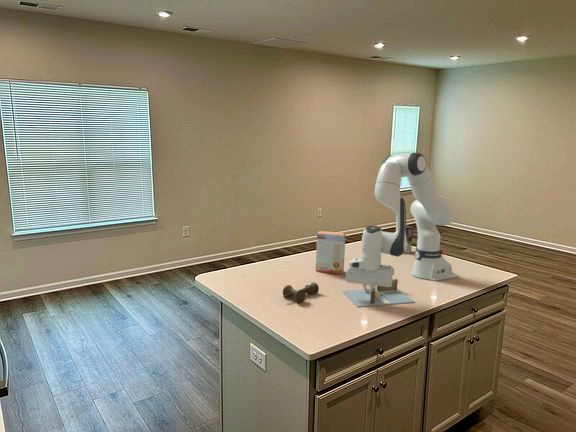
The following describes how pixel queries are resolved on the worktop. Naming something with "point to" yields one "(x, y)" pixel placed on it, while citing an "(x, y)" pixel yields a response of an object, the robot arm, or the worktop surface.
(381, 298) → the card
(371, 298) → the tan wooden bar
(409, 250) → the coffee box
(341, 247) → the cracker box
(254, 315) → the worktop surface
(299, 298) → the kendama
